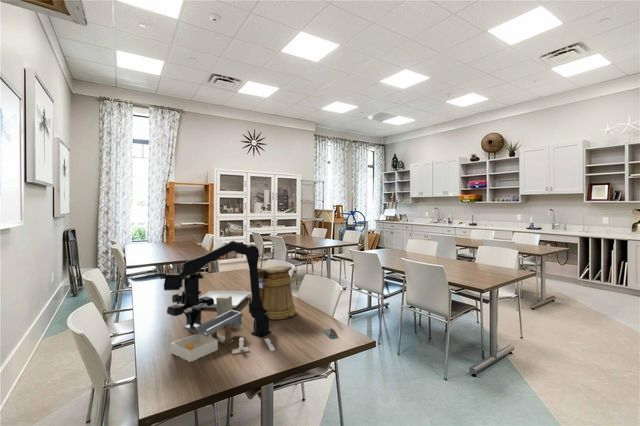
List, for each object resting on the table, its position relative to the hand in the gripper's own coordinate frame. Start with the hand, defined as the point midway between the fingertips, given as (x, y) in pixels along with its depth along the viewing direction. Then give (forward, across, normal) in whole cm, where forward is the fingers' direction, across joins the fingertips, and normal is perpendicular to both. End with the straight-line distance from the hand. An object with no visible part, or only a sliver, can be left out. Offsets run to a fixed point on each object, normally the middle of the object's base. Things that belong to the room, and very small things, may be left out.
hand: (191, 325), depth 133 cm
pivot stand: (+6, -7, +10) cm, 14 cm away
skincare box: (+6, -22, -6) cm, 24 cm away
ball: (+4, +8, +10) cm, 13 cm away
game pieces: (+7, -22, +33) cm, 41 cm away
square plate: (+7, -41, -31) cm, 52 cm away
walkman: (+6, -64, -21) cm, 68 cm away
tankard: (+6, -43, +7) cm, 44 cm away
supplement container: (+6, -10, -13) cm, 18 cm away
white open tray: (+6, +5, +10) cm, 13 cm away
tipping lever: (+3, -7, +6) cm, 10 cm away
